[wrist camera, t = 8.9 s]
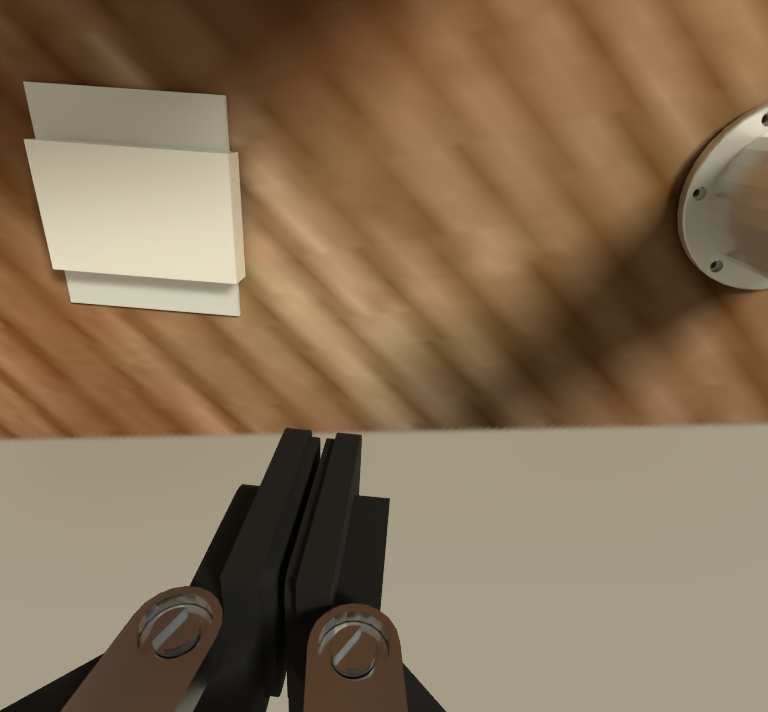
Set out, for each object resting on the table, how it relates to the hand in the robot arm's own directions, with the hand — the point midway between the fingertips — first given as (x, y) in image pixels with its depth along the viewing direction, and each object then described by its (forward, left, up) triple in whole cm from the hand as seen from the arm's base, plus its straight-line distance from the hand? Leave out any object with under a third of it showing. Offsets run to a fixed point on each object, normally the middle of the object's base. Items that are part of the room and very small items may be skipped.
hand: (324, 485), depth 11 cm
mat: (+19, 0, -29) cm, 35 cm away
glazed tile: (+11, 0, -27) cm, 30 cm away
